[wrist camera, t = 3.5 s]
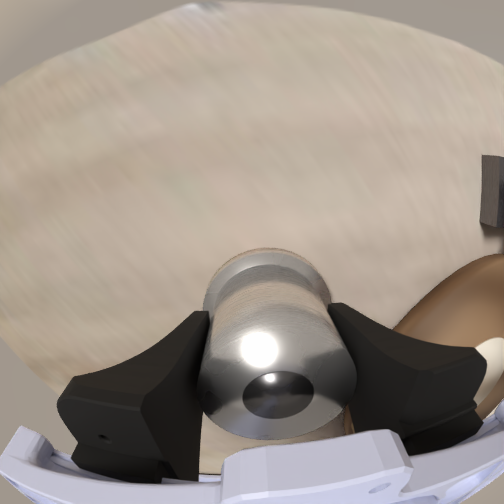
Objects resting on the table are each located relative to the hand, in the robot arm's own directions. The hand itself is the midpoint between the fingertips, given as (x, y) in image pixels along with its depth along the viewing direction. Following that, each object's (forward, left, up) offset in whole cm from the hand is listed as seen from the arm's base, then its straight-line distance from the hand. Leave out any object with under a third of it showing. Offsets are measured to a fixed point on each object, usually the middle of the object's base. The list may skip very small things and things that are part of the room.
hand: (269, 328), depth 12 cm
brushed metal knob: (0, 0, -2) cm, 2 cm away
